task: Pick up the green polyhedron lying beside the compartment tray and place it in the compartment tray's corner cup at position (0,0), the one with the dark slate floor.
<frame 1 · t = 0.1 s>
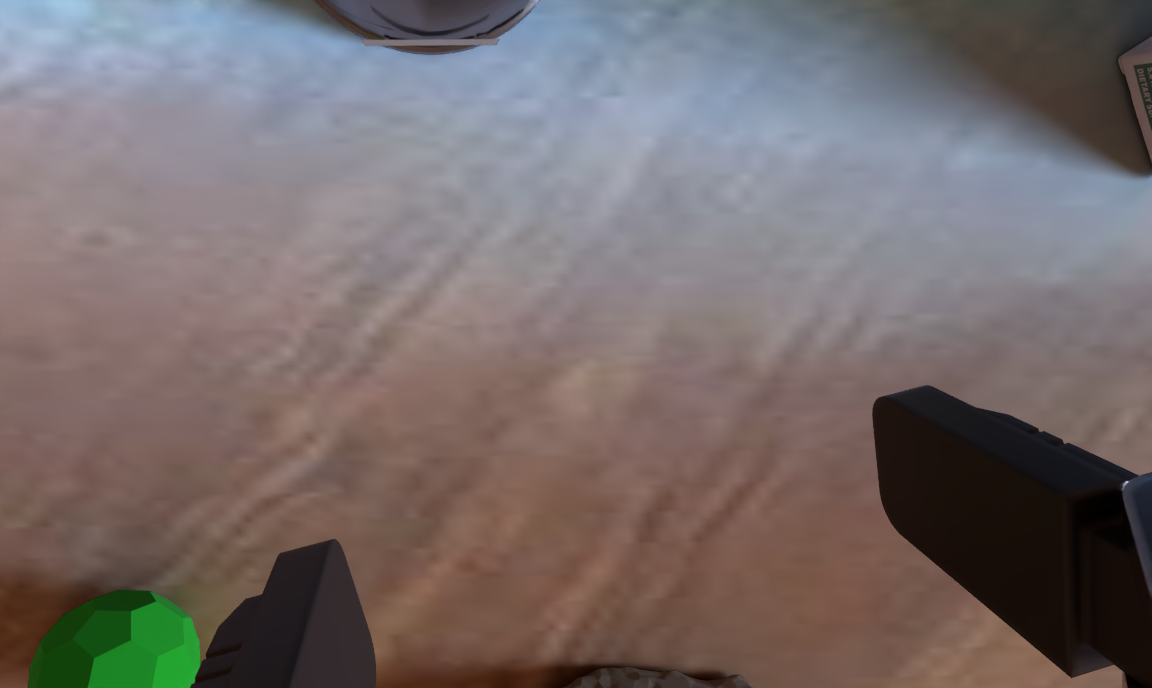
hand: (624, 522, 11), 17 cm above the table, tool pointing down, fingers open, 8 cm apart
polyhedron: (146, 622, 28), on the table
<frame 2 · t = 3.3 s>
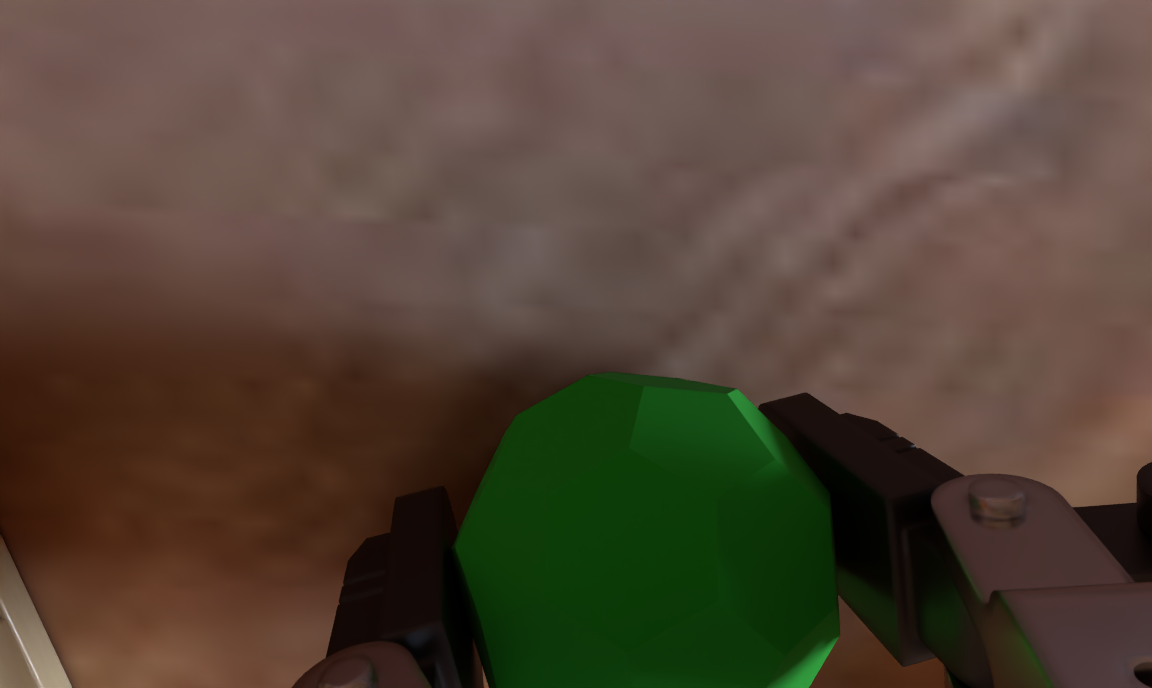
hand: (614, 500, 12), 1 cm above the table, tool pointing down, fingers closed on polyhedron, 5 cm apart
polyhedron: (604, 476, 12), on the table, touching gripper
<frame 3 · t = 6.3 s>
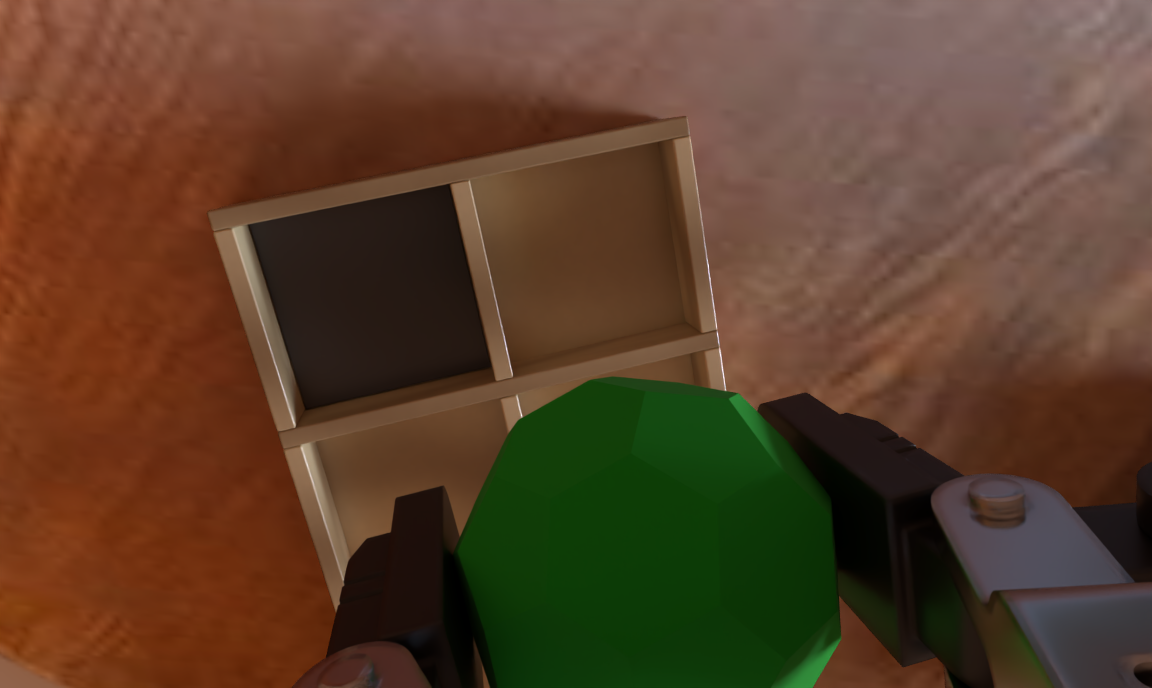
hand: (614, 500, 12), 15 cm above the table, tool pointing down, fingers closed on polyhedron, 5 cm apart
polyhedron: (605, 480, 13), point 15 cm above the table, touching gripper
compartment tray: (521, 456, 28), on the table
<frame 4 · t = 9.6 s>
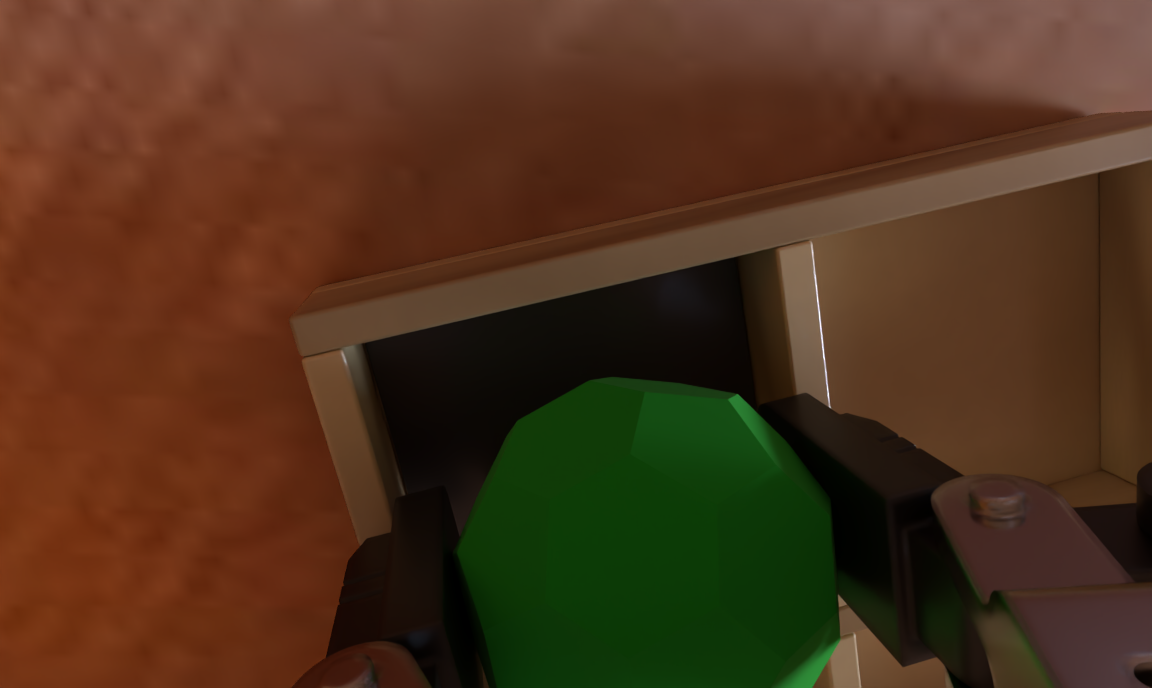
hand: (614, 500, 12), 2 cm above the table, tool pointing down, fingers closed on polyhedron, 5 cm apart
polyhedron: (605, 480, 13), point 2 cm above the table, touching gripper
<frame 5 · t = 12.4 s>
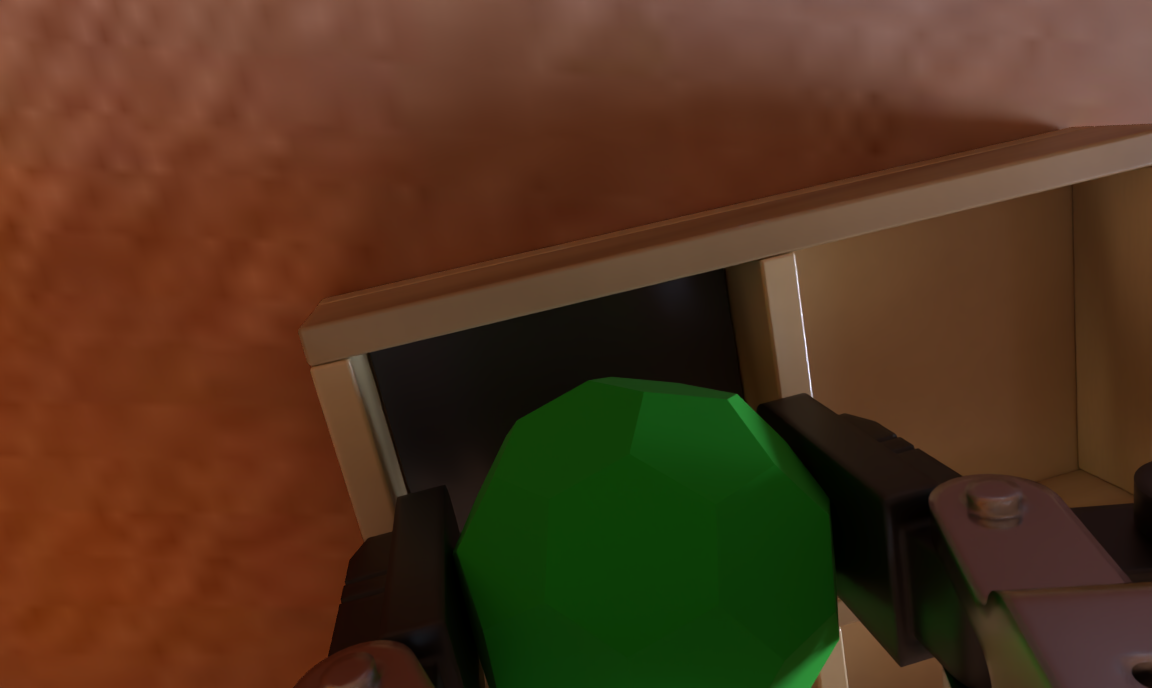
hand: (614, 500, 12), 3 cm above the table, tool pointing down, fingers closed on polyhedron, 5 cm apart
polyhedron: (604, 480, 13), point 2 cm above the table, touching gripper
compartment tray: (790, 687, 17), on the table
when the fingers open (3 cm above the table, at t = 14.9 s): polyhedron drops 2 cm, resting on compartment tray.
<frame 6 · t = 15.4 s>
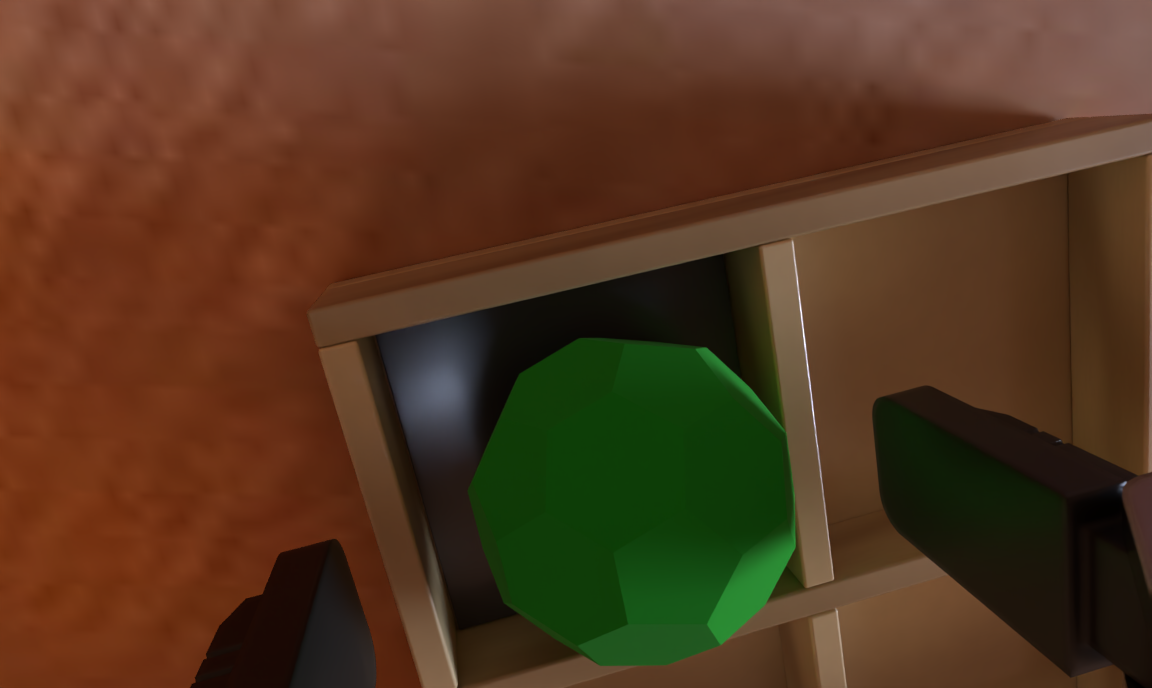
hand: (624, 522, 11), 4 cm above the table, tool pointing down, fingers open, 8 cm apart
polyhedron: (598, 433, 14), point 1 cm above the table, touching compartment tray
compartment tray: (788, 670, 17), on the table
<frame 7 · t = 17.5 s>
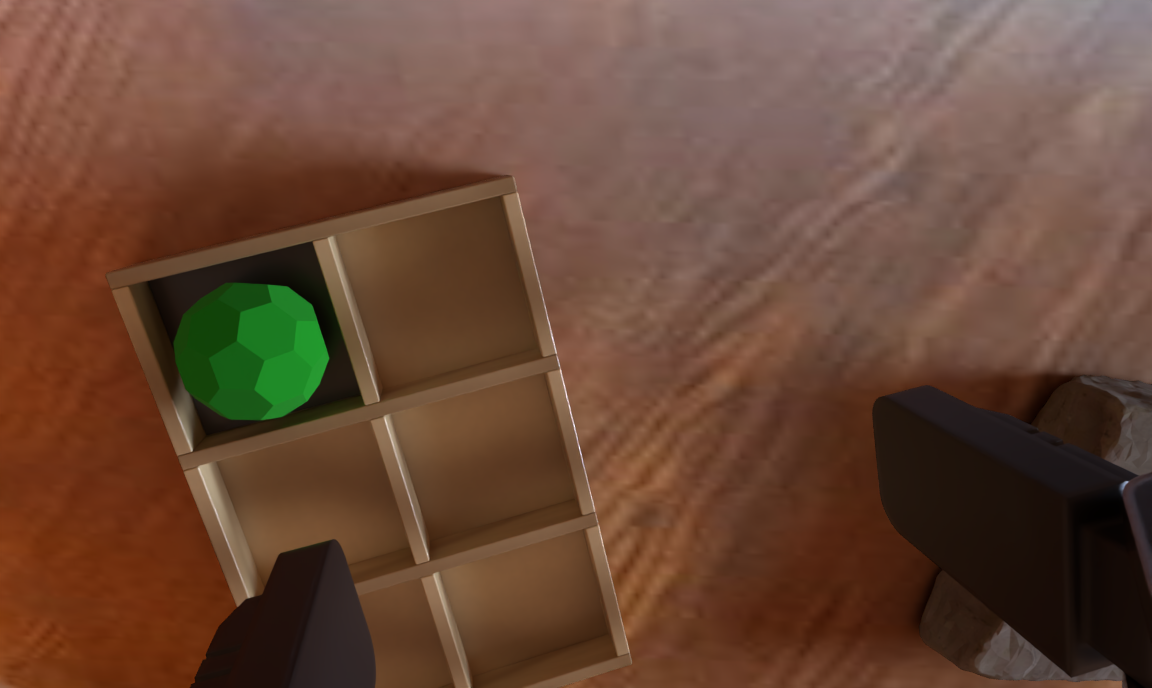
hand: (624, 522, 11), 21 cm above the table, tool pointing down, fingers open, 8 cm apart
polyhedron: (269, 335, 29), point 1 cm above the table, touching compartment tray
compartment tray: (403, 469, 32), on the table
marble piece: (1082, 513, 39), on the table
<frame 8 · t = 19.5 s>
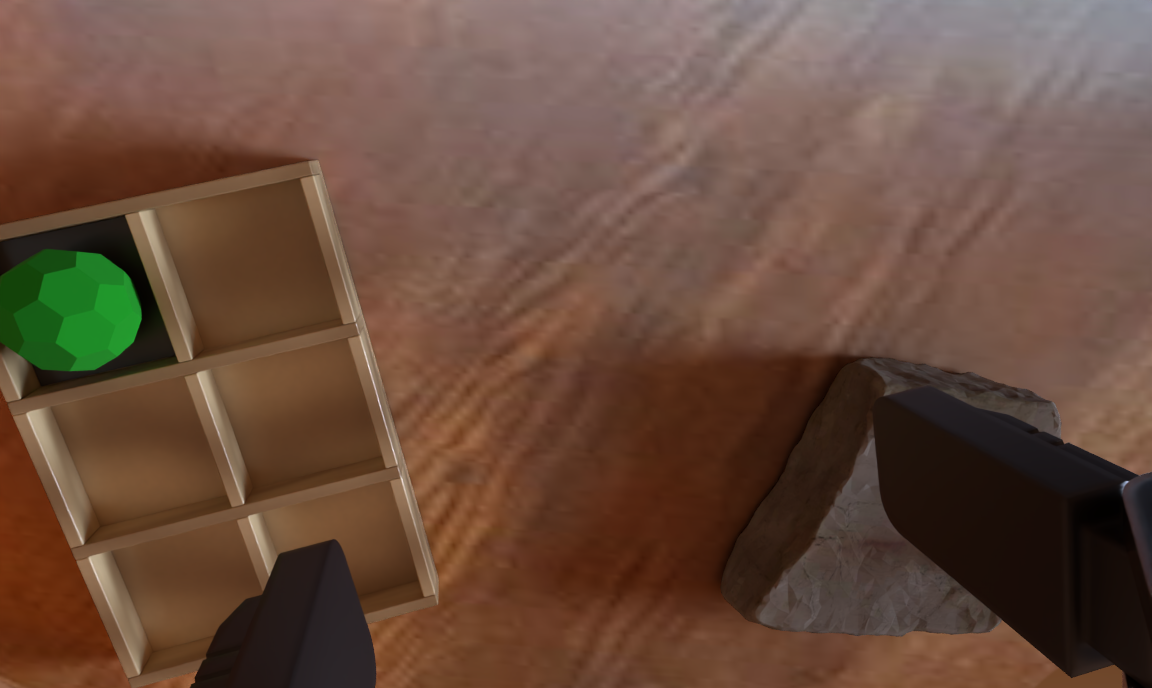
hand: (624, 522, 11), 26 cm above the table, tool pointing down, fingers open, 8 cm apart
polyhedron: (97, 298, 33), point 1 cm above the table, touching compartment tray
compartment tray: (229, 423, 36), on the table
marble piece: (878, 485, 43), on the table
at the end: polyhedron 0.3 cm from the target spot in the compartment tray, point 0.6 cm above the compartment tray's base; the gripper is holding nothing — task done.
